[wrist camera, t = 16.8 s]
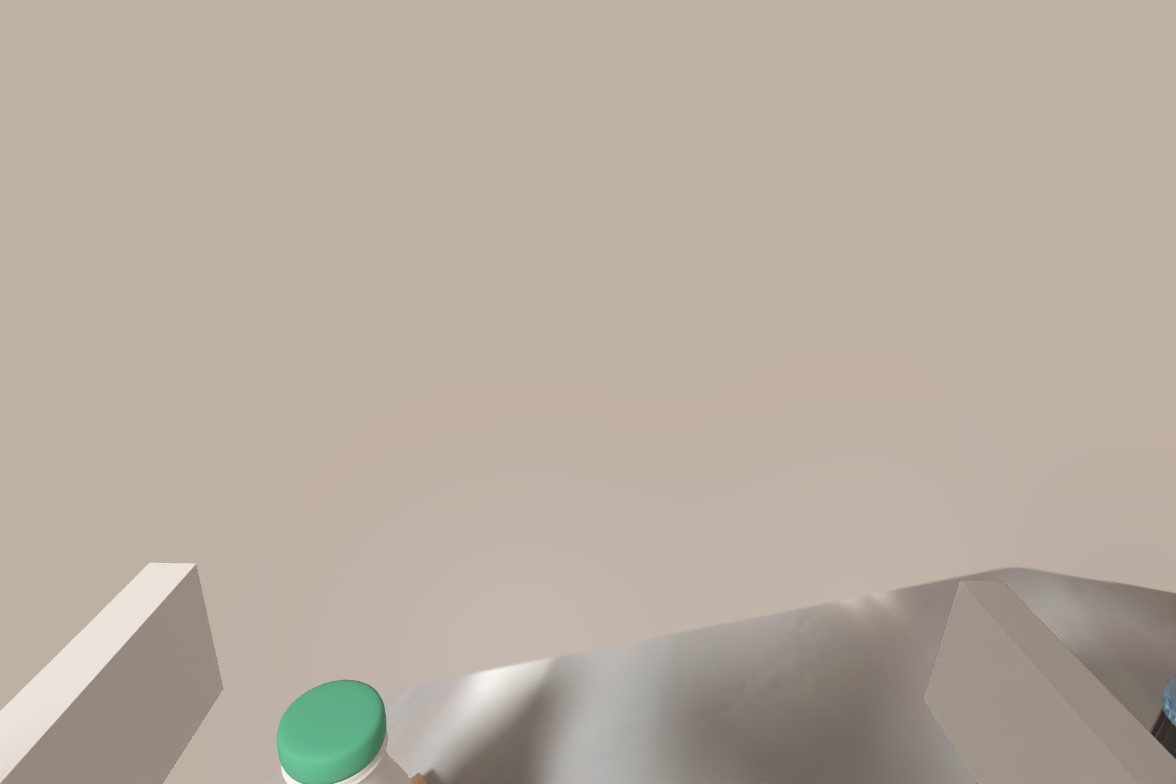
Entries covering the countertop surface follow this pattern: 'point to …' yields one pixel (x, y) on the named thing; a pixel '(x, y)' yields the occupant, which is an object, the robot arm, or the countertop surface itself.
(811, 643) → the countertop surface
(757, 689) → the countertop surface
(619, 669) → the countertop surface
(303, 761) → the milk bottle
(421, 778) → the peg board
